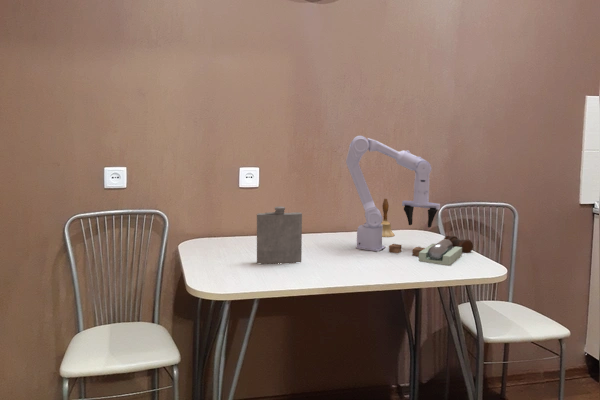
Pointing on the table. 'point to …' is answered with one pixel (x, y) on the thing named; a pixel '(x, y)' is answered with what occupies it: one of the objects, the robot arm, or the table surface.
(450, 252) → the pale green channelled slab
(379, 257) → the table surface
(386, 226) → the hand bell
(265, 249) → the hip flask
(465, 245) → the bolt
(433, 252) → the axle
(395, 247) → the bearing block
